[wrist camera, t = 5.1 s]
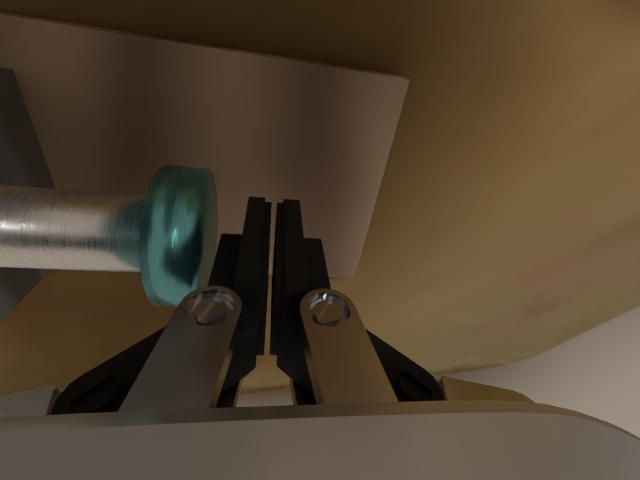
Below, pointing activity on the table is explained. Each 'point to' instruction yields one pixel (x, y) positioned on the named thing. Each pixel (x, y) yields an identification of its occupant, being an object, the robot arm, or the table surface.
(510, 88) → the table surface
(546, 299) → the table surface
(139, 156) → the shaft frame
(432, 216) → the table surface
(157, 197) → the shaft
